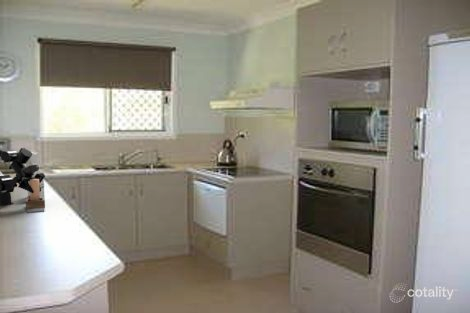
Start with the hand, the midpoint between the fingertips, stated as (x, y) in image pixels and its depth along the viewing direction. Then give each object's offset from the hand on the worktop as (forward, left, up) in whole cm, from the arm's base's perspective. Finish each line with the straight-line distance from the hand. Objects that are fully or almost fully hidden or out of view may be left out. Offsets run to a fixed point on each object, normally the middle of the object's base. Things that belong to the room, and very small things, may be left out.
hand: (36, 191), depth 248 cm
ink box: (-19, +19, -8) cm, 28 cm away
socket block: (-1, 0, -8) cm, 8 cm away
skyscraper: (-29, +27, -8) cm, 41 cm away
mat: (+7, -8, -8) cm, 13 cm away
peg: (-1, 0, -7) cm, 7 cm away
